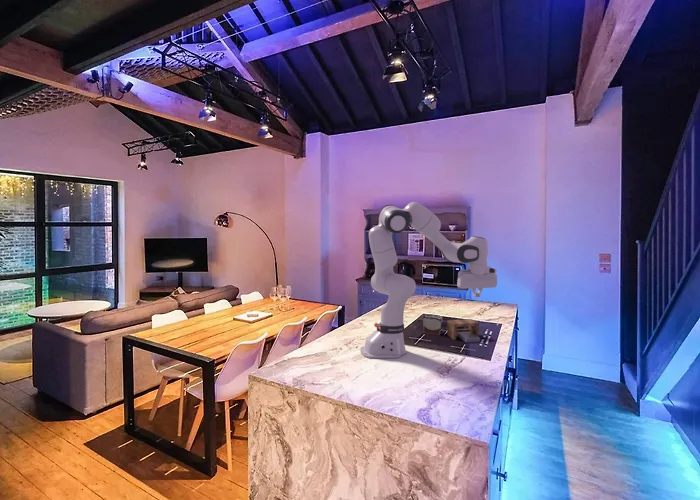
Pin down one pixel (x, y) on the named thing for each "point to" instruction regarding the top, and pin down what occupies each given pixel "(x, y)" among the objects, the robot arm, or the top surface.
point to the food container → (432, 323)
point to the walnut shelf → (454, 324)
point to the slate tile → (468, 336)
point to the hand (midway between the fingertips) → (476, 296)
